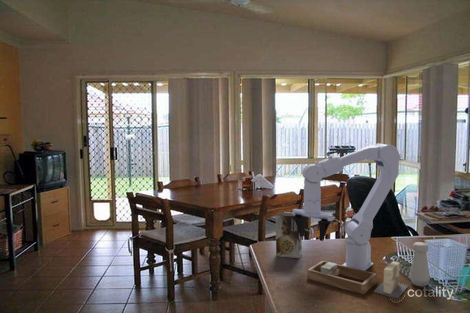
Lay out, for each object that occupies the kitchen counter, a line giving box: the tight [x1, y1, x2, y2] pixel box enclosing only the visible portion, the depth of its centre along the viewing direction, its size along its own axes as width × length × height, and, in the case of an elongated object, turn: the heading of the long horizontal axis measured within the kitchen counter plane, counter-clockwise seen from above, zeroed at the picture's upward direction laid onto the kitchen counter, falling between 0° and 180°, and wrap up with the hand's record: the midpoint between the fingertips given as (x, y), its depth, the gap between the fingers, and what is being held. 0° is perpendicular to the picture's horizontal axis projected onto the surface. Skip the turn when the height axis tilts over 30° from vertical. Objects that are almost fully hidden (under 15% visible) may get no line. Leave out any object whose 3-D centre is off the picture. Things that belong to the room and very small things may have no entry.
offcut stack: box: [321, 261, 340, 277], centre depth 128 cm, size 7×4×4 cm, turn 140°
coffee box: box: [275, 211, 303, 259], centre depth 149 cm, size 9×6×16 cm
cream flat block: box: [383, 260, 401, 294], centre depth 118 cm, size 8×2×7 cm, turn 140°
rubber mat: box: [373, 281, 409, 300], centre depth 118 cm, size 10×7×1 cm
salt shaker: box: [408, 241, 431, 288], centre depth 121 cm, size 6×6×13 cm
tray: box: [306, 260, 378, 295], centre depth 125 cm, size 11×19×3 cm, turn 50°
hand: (312, 238), depth 136 cm, fingers open, 7 cm apart
